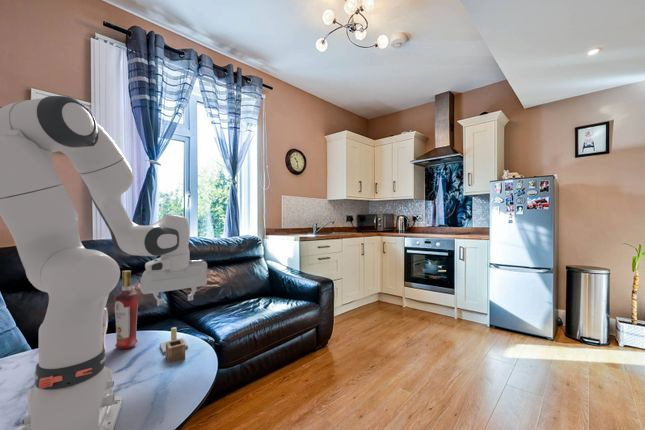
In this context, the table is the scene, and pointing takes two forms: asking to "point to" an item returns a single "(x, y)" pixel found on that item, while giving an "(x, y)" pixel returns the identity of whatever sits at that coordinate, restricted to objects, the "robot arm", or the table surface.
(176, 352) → the collar
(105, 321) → the beer glass
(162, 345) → the post stand
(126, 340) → the liquor
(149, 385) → the table surface
